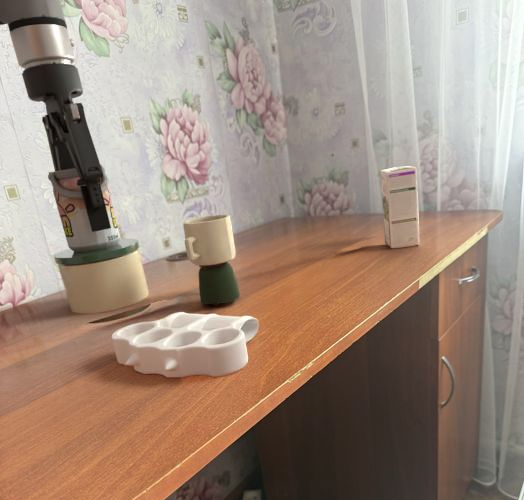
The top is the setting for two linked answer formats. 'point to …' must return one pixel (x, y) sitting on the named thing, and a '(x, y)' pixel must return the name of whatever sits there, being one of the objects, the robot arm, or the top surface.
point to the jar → (104, 279)
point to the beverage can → (81, 213)
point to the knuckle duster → (186, 344)
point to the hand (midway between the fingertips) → (91, 228)
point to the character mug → (212, 257)
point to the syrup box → (400, 206)
